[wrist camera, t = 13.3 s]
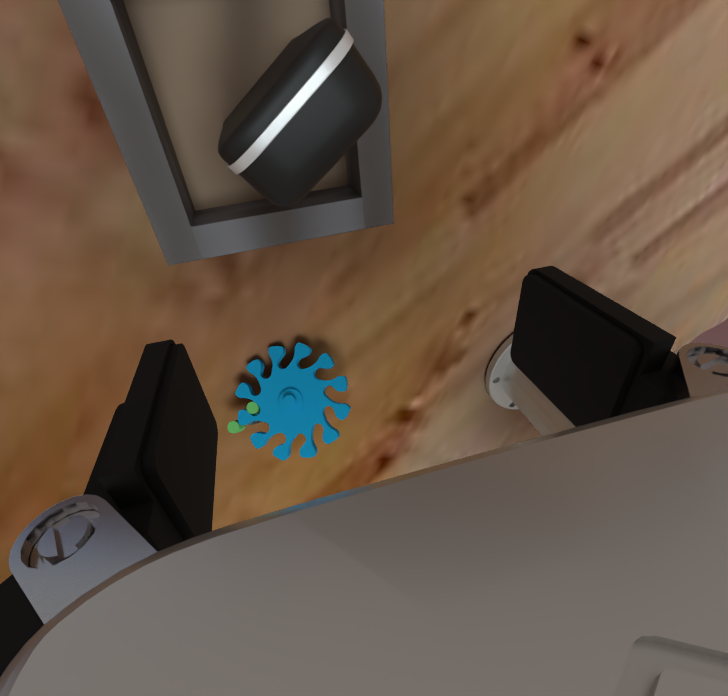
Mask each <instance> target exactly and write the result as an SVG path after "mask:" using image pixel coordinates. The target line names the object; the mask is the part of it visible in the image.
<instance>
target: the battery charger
mask: <svg viewBox="0 0 728 696" xmlns="http://www.w3.org/2000/svg"><path fill="white" fill-rule="evenodd" d="M353 42H354V40H353V38H352V36H351V35H350V33H349V32H348V30H347V29H343V28H342V26H341V25H340V23H339V22H338V21H337V20H336V19H334V18H332V17H330V18H326V19H324V20H322V21H320V22H318V23H317V24H315V25H313V26H312V27H310V28H309V29H308V30H306V31H305V32H303V33H302V34H301V35H299V36H297V37H295V38H293V39H292V40H291V41H290V42H289V44H288V45H287V46H286V47H285V48H284V50H283V51H282V52H281V53H280V54H279V56H278V57H277V58H276V59H275V60H274V62H273V63H272V64H271V65H270V66H269V68H268V69H267V70H266V71H265V73H264V74H263V75H262V76H261V77H260V79H259V80H258V81H257V82H256V83H255V85H254V86H253V87H252V88H251V89H250V91H249V92H248V93H247V94H246V95H245V97H244V98H243V99H242V100H241V102H240V103H239V104H238V105H237V106H236V108H235V109H234V110H233V111H232V112H231V114H230V115H229V116H228V117H227V118H226V120H225V121H224V123H223V126H222V127H223V128H222V131H221V134H220V138H219V142H218V153H219V155H220V156H221V158H222V159H223V160H224V161H225V162H226V163H227V166H228V167H229V168H230V169H231V170H232V171H233V172H234V173H235V174H239V175H240V176H241V177H242V178H243V179H245V180H246V181H247V182H248V183H249V184H250V185H251V186H252V187H253V188H254V189H255V190H256V191H257V192H258V193H259V194H261V195H262V196H263V197H264V198H266V199H267V200H268V201H270V202H271V203H272V204H275V205H277V206H280V207H283V206H291V205H293V204H295V203H297V202H299V201H301V200H302V199H303V198H304V197H305V196H306V195H307V194H308V193H309V192H310V191H311V190H312V189H313V188H314V187H315V186H316V184H317V183H318V182H319V181H320V180H321V179H322V178H323V177H324V176H325V175H326V174H327V173H328V172H329V171H330V170H331V169H332V167H333V166H334V165H335V164H336V163H337V162H338V161H339V160H340V159H341V158H342V157H343V156H344V155H345V154H346V152H347V151H348V150H349V149H350V148H351V147H352V146H353V145H354V144H355V143H356V142H357V141H358V139H359V138H360V137H361V136H362V135H363V134H364V133H365V132H366V131H367V130H368V129H369V127H370V126H371V125H372V124H373V123H374V121H375V120H376V118H377V116H378V114H379V112H380V110H381V104H382V92H381V87H380V85H379V83H378V81H377V79H376V77H375V75H374V74H373V72H372V71H371V69H370V68H369V66H368V65H367V63H366V62H365V60H364V59H363V57H362V56H361V54H360V53H359V51H358V50H357V48H356V47H355V45H354V44H353Z"/></svg>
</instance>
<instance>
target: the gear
mask: <svg viewBox="0 0 728 696" xmlns="http://www.w3.org/2000/svg"><path fill="white" fill-rule="evenodd" d="M268 351H269V355H270V357H271V359H272V363H273V368H272V373H271V376H270V377H269V378H265V377H264V374H263V372H264V367H265V366H264V362H263V361H262V360H259V359H256V360H254V361H252V362H251V363H249V364H248V365H247V370H248V371H249V372H250V373H252V374H253V375H254V376H255V377H256V378H257V379H258V381H259V384H260V387H261V393H260V394H259V395H256V394H255V393H254V391H253V388H252V386H251V385H250V384H249V383H241V384H240V385H239V386H238V388H237V391H236V393H235V394H236V396H237V397H239V398H248V399H251V400H253V401H254V402H250V403H248V405H247V407H246V408H245V409H244V410H240V411H239V413H238V420H235V421H231V422H230V423H229V424H228V431H229V432H230V433H237V432H240V431H242V430H244V428H245V425H246V424H247V425H253V424H256V423H259V422H262V421H263V422H266V423H268V424H269V427H270V429H269V432H268V433H265V432H257V433H254V434H252V435H251V437H250V438H251V441H252V443H253V445H254V446H255V447H256V449H257V448H261V447H263V446H265V445H266V443H267V442H268V440H269V439H270V438H271V437H272V436H273V435H274V434H277V433H283V434H285V436H286V442H285V443H284V444H281V445H279V446H277V447H276V448H275V449H274V451H273V455H274V456H275V457H277V458H279V459H281V460H283V461H284V460H286V459H287V458H288V457H289V456H290V454H291V445H292V442H293V440H294V439H295V437H296V436H297V435H298V434H299V433H302V434H304V435H305V437H306V442H305V444H304V445H303V446H302V447H301V449H300V455H301V457H305V458H308V457H314V456H315V455H316V454H317V447H316V445H315V443H314V440H313V430H314V426H315V424H317V423H319V424H321V425H322V426H323V428H324V432H323V441H324V442H325V443H326V444H329V443H331V442H333V441H334V440H336V439H337V438H338V437H339V436H340V434H339V431H338V430H337V429H335V428H334V427H332V426H331V425H330V424H329V422H328V421H327V419H326V416H325V413H324V409H325V407H326V406H331V407H332V408H333V409H334V412H335V415H336V416H337V418H339V419H341V420H343V419H345V418H346V417H347V415H348V414H349V411H350V409H351V407H350V406H349V405H348V404H346V403H337V402H334V401H333V400H331V399H330V398H329V397H328V396H327V395H326V394H325V388H326V387H327V386H329V385H330V386H332V387H333V388H335V389H336V390H337V391H340V392H342V391H346V390H347V386H348V383H347V377H345V376H338V377H336V378H335V379H332V380H329V381H325V380H320V379H318V378H317V377H316V375H315V373H316V370H317V369H319V368H325V369H330V368H332V367H333V366H334V365H335V364H334V361H333V359H332V358H331V356H330V355H329V354H327V353H324V354H322V355H321V356H320V357H319V359H318V360H317V362H316V363H315V364H314V365H312V366H310V367H308V368H305V369H301V368H300V366H299V361H300V360H301V359H302V358H305V357H307V356H309V355H310V354H311V352H312V349H311V348H310V347H309V346H307V345H305V344H302V343H299V342H298V343H297V344H296V346H295V353H294V357H293V360H292V361H291V363H290V364H289V365H288V366H287V368H285V369H283V368H281V366H280V361H281V360H282V359H283V357H284V356H285V354H286V349H285V347H281V346H272V347H269V350H268Z"/></svg>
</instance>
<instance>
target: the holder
mask: <svg viewBox="0 0 728 696" xmlns="http://www.w3.org/2000/svg"><path fill="white" fill-rule="evenodd" d="M58 2H59V4H60V6H61V9H62V11H63V14H64V16H65V18H66V21H67V23H68V26H69V28H70V30H71V33H72V35H73V38H74V40H75V42H76V45H77V47H78V50H79V52H80V54H81V57H82V59H83V62H84V64H85V66H86V69H87V71H88V74H89V76H90V78H91V81H92V83H93V86H94V88H95V90H96V93H97V95H98V98H99V100H100V102H101V105H102V107H103V110H104V112H105V114H106V117H107V119H108V122H109V124H110V126H111V129H112V131H113V134H114V136H115V138H116V141H117V143H118V146H119V148H120V150H121V153H122V155H123V158H124V160H125V162H126V165H127V167H128V170H129V172H130V174H131V177H132V179H133V182H134V184H135V186H136V189H137V191H138V194H139V196H140V198H141V201H142V203H143V206H144V208H145V210H146V213H147V215H148V218H149V220H150V222H151V225H152V227H153V230H154V232H155V234H156V237H157V239H158V242H159V244H160V246H161V249H162V251H163V254H164V256H165V258H166V261H167V263H168V265H174V264H179V263H184V262H190V261H195V260H200V259H206V258H211V257H216V256H222V255H227V254H232V253H238V252H243V251H248V250H254V249H259V248H264V247H270V246H275V245H280V244H286V243H291V242H296V241H302V240H307V239H312V238H318V237H323V236H328V235H334V234H339V233H344V232H350V231H355V230H360V229H366V228H371V227H377V226H382V225H387V224H393V223H394V221H393V198H392V176H391V153H390V131H389V108H388V86H387V63H386V41H385V18H384V0H58ZM330 17H332V18H334V19H336V20H337V21H338V22H339V23H340V25H341V26H342V28H343V29H347V30H348V32H349V33H350V35H351V36H352V38H353V40H354V42H353V44H354V45H355V47H356V48H357V50H358V51H359V53H360V54H361V56H362V57H363V59H364V60H365V62H366V63H367V65H368V66H369V68H370V69H371V71H372V72H373V74H374V75H375V77H376V79H377V81H378V83H379V85H380V87H381V92H382V104H381V110H380V112H379V114H378V116H377V118H376V120H375V121H374V123H373V124H372V125H371V126H370V127H369V129H368V130H367V131H366V132H365V133H364V134H363V135H362V136H361V137H360V138H359V139H358V141H357V142H356V143H355V144H354V145H353V146H352V147H351V148H350V149H349V150H348V151H347V152H346V154H345V155H344V156H343V157H342V158H341V159H340V160H339V161H338V162H337V163H336V164H335V165H334V166H333V167H332V169H331V170H330V171H329V172H328V173H327V174H326V175H325V176H324V177H323V178H322V179H321V180H320V181H319V182H318V183H317V184H316V186H315V187H314V188H313V189H312V190H311V191H310V192H309V193H308V194H307V195H306V196H305V197H304V198H303V199H302V200H301V201H299V202H297V203H295V204H293V205H291V206H283V207H280V206H277V205H275V204H272V203H271V202H270V201H268V200H267V199H266V198H264V197H263V196H262V195H261V194H259V193H258V192H257V191H256V190H255V189H254V188H253V187H252V186H251V185H250V184H249V183H248V182H247V181H246V180H245V179H243V178H242V177H241V176H240V175H239V174H235V173H234V172H233V171H232V170H231V169H230V168H229V167H228V166H227V163H226V162H225V161H224V160H223V159H222V158H221V156H220V155H219V153H218V142H219V138H220V134H221V131H222V128H223V127H222V126H223V123H224V121H225V120H226V118H227V117H228V116H229V115H230V114H231V112H232V111H233V110H234V109H235V108H236V106H237V105H238V104H239V103H240V102H241V100H242V99H243V98H244V97H245V95H246V94H247V93H248V92H249V91H250V89H251V88H252V87H253V86H254V85H255V83H256V82H257V81H258V80H259V79H260V77H261V76H262V75H263V74H264V73H265V71H266V70H267V69H268V68H269V66H270V65H271V64H272V63H273V62H274V60H275V59H276V58H277V57H278V56H279V54H280V53H281V52H282V51H283V50H284V48H285V47H286V46H287V45H288V44H289V42H290V41H291V40H292V39H293V38H295V37H297V36H299V35H301V34H302V33H303V32H305V31H306V30H308V29H309V28H310V27H312V26H313V25H315V24H317V23H318V22H320V21H322V20H324V19H326V18H330Z"/></svg>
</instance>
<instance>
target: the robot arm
mask: <svg viewBox="0 0 728 696" xmlns="http://www.w3.org/2000/svg"><path fill="white" fill-rule="evenodd" d="M675 339H676V337H675V336H673V335H671V334H669V333H668V332H666V331H664V330H663V329H661V328H659V327H657V326H656V325H654V324H652V323H651V322H649V321H647V320H645V319H644V318H642V317H640V316H638V315H637V314H635V313H633V312H632V311H630V310H628V309H626V308H625V307H623V306H621V305H620V304H618V303H616V302H614V301H613V300H611V299H609V298H607V297H606V296H604V295H602V294H601V293H599V292H597V291H595V290H594V289H592V288H590V287H589V286H587V285H585V284H583V283H582V282H580V281H578V280H576V279H575V278H573V277H571V276H570V275H568V274H566V273H564V272H563V271H561V270H559V269H558V268H556V267H554V266H547V267H542V268H537V269H532V270H531V271H529V273H528V275H527V276H525V277H524V279H523V282H522V288H521V294H520V299H519V305H518V311H517V317H516V322H515V328H514V334H513V335H511V336H510V337H509V338H508V339H507V340H506V341H505V342H504V343H503V344H502V345H501V347H500V348H499V349H498V350H497V352H496V353H495V355H494V356H493V358H492V360H491V362H490V364H489V367H488V369H487V373H486V378H485V381H486V389H487V392H488V394H489V395H490V397H491V398H492V399H493V400H494V401H495V402H496V403H497V405H499V406H501V407H503V408H506V409H514V410H520V411H521V412H522V413H523V414H524V415H525V417H526V418H527V419H528V420H529V421H530V422H531V424H532V425H533V426H534V427H535V428H536V429H537V430H538V432H539V433H540V434H541V435H542V437H538V438H534V439H531V440H527V441H523V442H520V443H516V444H512V445H509V446H505V447H501V448H498V449H494V450H491V451H487V452H483V453H480V454H476V455H472V456H469V457H465V458H462V459H458V460H454V461H451V462H447V463H444V464H440V465H436V466H433V467H429V468H425V469H422V470H418V471H415V472H411V473H408V474H404V475H401V476H397V477H393V478H390V479H386V480H383V481H379V482H376V483H372V484H369V485H365V486H362V487H358V488H354V489H351V490H347V491H344V492H340V493H337V494H333V495H330V496H326V497H322V498H319V499H315V500H312V501H308V502H305V503H302V504H298V505H295V506H292V507H288V508H285V509H282V510H278V511H275V512H272V513H268V514H265V515H261V516H258V517H255V518H251V519H248V520H245V521H241V522H238V523H235V524H231V525H228V526H226V527H223V528H220V529H217V530H214V531H212V518H213V502H214V486H215V471H216V455H217V439H218V430H217V424H216V421H215V418H214V416H213V413H212V411H211V409H210V406H209V404H208V401H207V399H206V397H205V394H204V392H203V389H202V387H201V385H200V382H199V380H198V377H197V375H196V373H195V370H194V368H193V365H192V363H191V361H190V358H189V356H188V353H187V351H186V349H185V347H184V345H183V344H182V343H181V344H175V342H174V341H173V340H166V341H161V342H156V343H151V344H147V345H146V346H145V348H144V351H143V354H142V356H141V359H140V362H139V365H138V367H137V370H136V373H135V376H134V378H133V381H132V384H131V387H130V389H129V392H128V395H127V398H126V400H125V403H122V404H120V405H119V406H118V407H117V409H116V411H115V413H114V416H113V419H112V421H111V424H110V426H109V429H108V432H107V434H106V437H105V439H104V442H103V445H102V447H101V450H100V453H99V455H98V458H97V460H96V463H95V466H94V468H93V471H92V474H91V476H90V479H89V481H88V484H87V487H86V489H85V492H84V495H81V496H75V497H72V498H69V499H67V500H64V501H62V502H59V503H57V504H56V505H54V506H52V507H51V508H49V509H47V510H46V511H44V512H43V513H41V514H40V515H39V516H38V517H37V518H35V519H34V520H33V521H32V522H31V523H30V524H29V525H28V526H27V527H26V528H25V529H24V530H23V532H22V533H21V534H20V535H19V536H18V538H17V540H16V542H15V543H14V545H13V547H12V549H11V552H10V557H9V561H8V562H9V566H10V570H11V572H12V575H11V576H10V577H9V578H7V579H6V580H5V581H4V582H3V583H1V584H0V696H728V348H727V347H724V346H720V345H715V344H709V343H690V344H687V345H684V346H682V347H681V348H680V349H679V351H678V353H677V355H676V354H675V353H673V352H671V351H670V350H671V348H672V346H673V343H674V341H675Z"/></svg>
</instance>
